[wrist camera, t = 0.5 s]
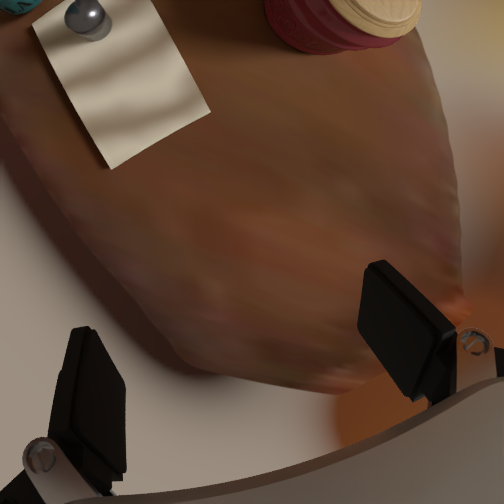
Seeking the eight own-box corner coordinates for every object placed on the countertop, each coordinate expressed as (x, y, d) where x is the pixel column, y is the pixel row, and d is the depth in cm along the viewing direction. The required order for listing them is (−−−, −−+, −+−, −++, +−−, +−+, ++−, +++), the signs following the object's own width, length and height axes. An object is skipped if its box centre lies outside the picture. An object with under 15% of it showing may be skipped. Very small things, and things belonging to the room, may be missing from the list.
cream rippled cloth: (36, 26, 23) (31, 24, 22) (131, -32, 23) (129, -37, 22) (113, 167, 34) (111, 169, 33) (209, 111, 34) (210, 112, 33)
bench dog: (77, 24, 24) (58, 11, 18) (105, 7, 24) (92, -10, 18) (89, 47, 26) (72, 37, 20) (117, 30, 26) (106, 16, 20)
